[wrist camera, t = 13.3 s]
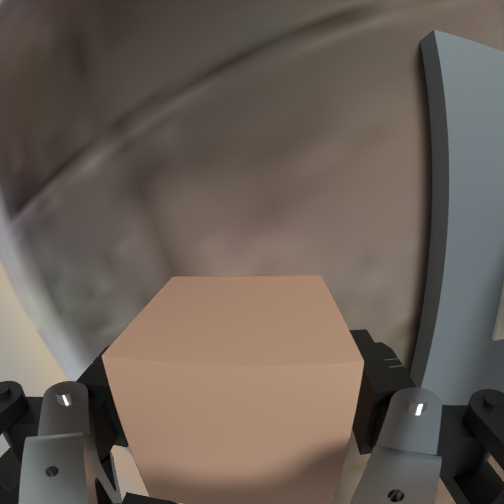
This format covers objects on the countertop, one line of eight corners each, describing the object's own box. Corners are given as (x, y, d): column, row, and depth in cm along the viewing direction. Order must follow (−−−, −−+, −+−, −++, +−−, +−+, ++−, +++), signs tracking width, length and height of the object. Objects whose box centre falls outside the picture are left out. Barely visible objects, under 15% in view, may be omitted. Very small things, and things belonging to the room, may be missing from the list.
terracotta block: (173, 276, 11) (101, 355, 6) (320, 275, 11) (364, 361, 5) (188, 393, 12) (150, 498, 7) (312, 394, 12) (331, 506, 7)
